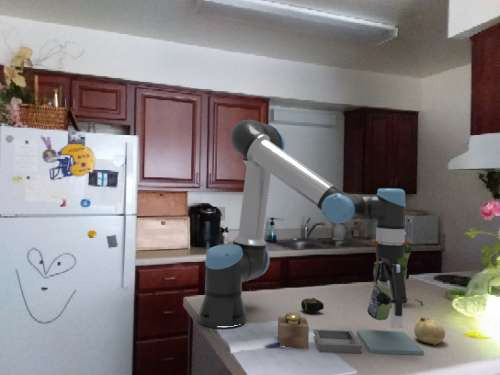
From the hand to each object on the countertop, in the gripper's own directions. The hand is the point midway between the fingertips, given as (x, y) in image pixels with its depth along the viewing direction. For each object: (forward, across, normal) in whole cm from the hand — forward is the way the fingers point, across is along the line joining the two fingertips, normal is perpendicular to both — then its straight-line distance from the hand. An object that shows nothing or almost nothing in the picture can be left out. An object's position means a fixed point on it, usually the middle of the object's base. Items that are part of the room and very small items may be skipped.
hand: (388, 318), depth 109 cm
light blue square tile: (+7, 0, 0) cm, 7 cm away
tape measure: (+7, +26, +15) cm, 31 cm away
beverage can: (+2, +8, 0) cm, 8 cm away
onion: (+7, +2, -13) cm, 15 cm away
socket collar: (+7, -2, +15) cm, 17 cm away
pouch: (+7, +40, -14) cm, 43 cm away
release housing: (+7, -2, +27) cm, 28 cm away
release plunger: (+7, -2, +27) cm, 28 cm away
